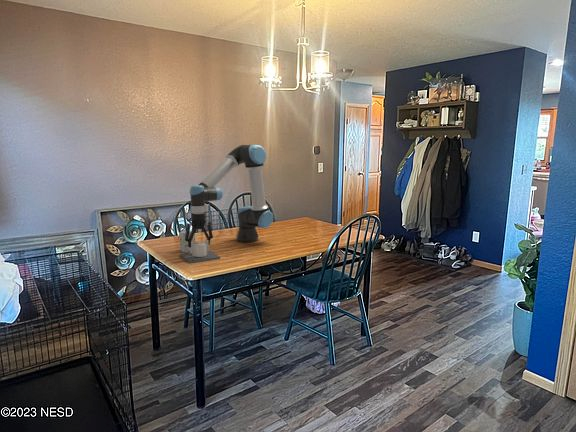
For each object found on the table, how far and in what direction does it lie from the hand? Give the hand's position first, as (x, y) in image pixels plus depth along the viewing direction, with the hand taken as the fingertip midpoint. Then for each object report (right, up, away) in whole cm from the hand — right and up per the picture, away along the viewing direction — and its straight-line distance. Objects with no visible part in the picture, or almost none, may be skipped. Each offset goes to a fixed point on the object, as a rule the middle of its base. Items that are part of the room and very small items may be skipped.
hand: (199, 251), depth 225 cm
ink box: (-11, -1, +16) cm, 19 cm away
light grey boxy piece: (0, -2, 0) cm, 2 cm away
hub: (0, -3, +1) cm, 3 cm away
